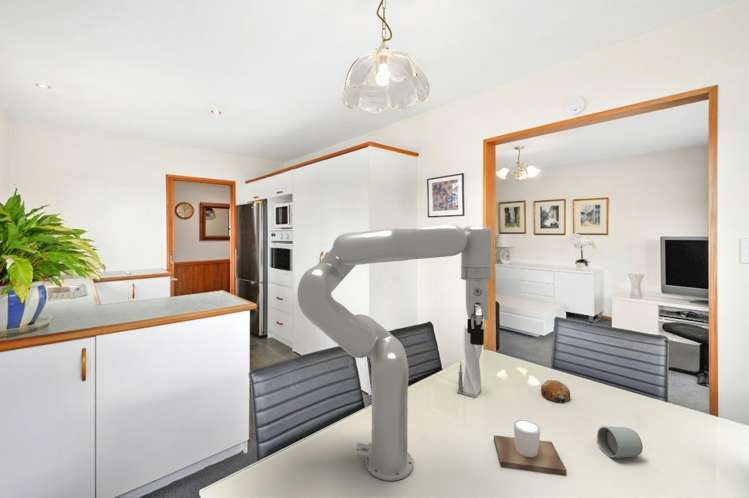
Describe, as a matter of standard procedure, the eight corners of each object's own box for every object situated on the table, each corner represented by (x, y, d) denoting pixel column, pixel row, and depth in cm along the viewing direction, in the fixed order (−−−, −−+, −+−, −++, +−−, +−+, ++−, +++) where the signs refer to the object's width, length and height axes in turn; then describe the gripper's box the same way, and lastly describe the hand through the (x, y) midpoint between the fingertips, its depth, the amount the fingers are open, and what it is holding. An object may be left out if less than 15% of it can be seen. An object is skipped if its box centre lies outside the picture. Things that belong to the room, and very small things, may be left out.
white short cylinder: (543, 460, 90) (543, 434, 89) (515, 456, 91) (516, 431, 91) (536, 444, 96) (536, 420, 96) (510, 441, 98) (511, 417, 97)
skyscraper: (465, 385, 138) (466, 317, 137) (485, 390, 133) (486, 320, 132) (457, 393, 131) (458, 322, 130) (477, 399, 126) (478, 325, 125)
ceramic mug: (645, 462, 91) (645, 434, 91) (617, 464, 90) (618, 436, 90) (613, 439, 102) (613, 414, 102) (588, 441, 101) (588, 415, 101)
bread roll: (570, 406, 128) (571, 384, 131) (569, 405, 120) (570, 382, 123) (541, 399, 134) (542, 378, 136) (538, 398, 126) (540, 376, 128)
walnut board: (500, 467, 89) (500, 461, 89) (493, 440, 101) (493, 435, 101) (566, 475, 86) (566, 469, 86) (551, 446, 98) (551, 441, 98)
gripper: (496, 278, 78) (495, 350, 79) (486, 270, 95) (485, 330, 96) (463, 277, 80) (462, 348, 81) (459, 270, 97) (458, 329, 97)
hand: (475, 338), depth 88 cm, fingers open, 9 cm apart
